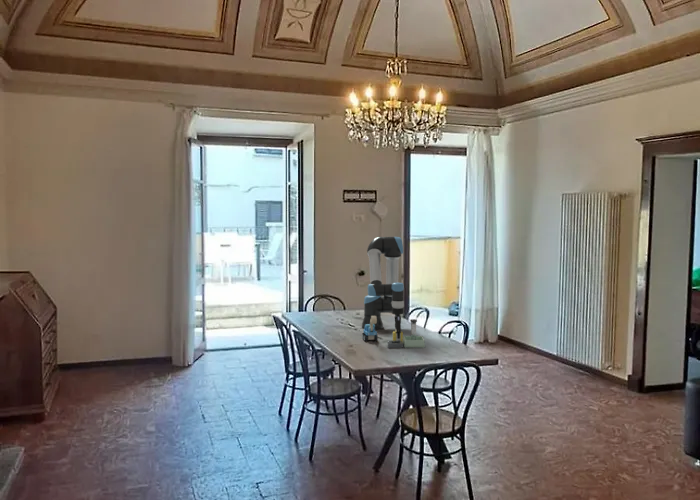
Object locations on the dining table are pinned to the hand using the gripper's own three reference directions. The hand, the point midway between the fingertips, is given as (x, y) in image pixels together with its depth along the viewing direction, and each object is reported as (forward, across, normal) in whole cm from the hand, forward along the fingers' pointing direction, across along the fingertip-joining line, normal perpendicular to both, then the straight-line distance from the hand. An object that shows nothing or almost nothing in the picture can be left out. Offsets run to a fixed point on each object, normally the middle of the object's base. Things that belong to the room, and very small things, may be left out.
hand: (397, 341), depth 375 cm
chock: (0, 0, 0) cm, 0 cm away
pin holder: (0, +13, -2) cm, 13 cm away
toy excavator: (0, -2, -17) cm, 17 cm away
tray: (0, +11, +9) cm, 14 cm away
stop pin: (-1, +11, +9) cm, 14 cm away
